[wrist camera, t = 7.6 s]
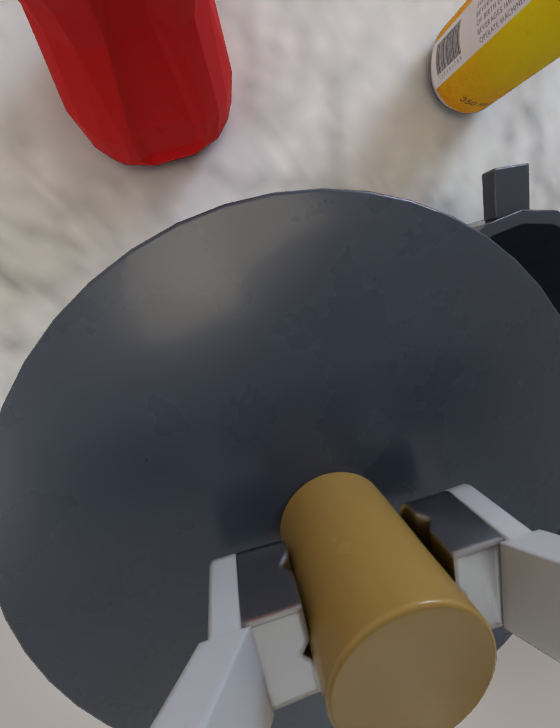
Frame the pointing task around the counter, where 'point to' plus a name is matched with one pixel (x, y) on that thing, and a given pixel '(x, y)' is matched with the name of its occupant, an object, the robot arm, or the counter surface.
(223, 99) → the water bottle
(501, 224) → the pot
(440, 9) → the counter surface
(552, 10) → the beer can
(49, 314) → the counter surface
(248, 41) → the counter surface
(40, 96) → the counter surface
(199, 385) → the pot lid
